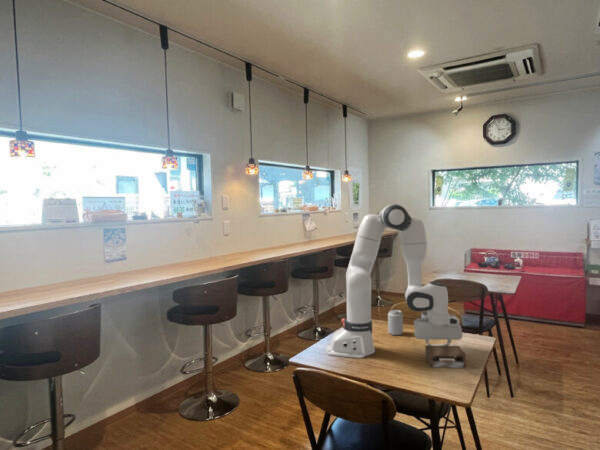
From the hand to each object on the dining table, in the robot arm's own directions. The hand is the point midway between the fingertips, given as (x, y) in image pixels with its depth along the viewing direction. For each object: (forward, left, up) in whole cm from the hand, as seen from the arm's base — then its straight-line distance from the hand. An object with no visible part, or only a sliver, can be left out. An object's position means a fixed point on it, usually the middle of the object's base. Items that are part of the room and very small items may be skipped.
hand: (437, 348), depth 172 cm
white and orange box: (0, -6, -2) cm, 7 cm away
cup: (+3, +27, -2) cm, 28 cm away
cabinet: (0, -11, -2) cm, 11 cm away
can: (-15, +25, -2) cm, 30 cm away
